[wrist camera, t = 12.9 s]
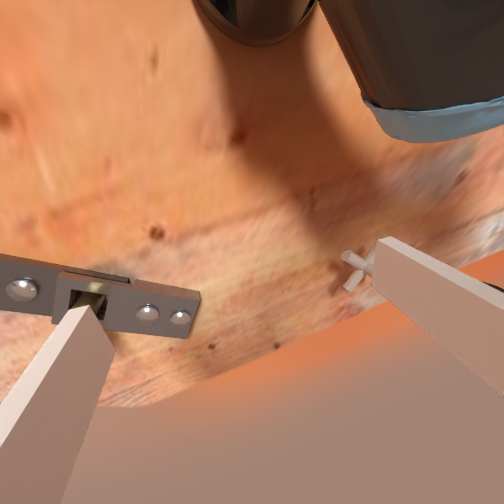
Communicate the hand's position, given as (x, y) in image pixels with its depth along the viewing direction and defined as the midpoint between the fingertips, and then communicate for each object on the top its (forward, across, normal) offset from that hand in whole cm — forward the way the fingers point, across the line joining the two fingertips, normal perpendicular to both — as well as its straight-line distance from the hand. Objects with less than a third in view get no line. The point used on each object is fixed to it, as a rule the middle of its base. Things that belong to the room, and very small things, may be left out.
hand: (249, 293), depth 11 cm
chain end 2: (+25, -16, -15) cm, 33 cm away
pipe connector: (+26, +22, -16) cm, 38 cm away
